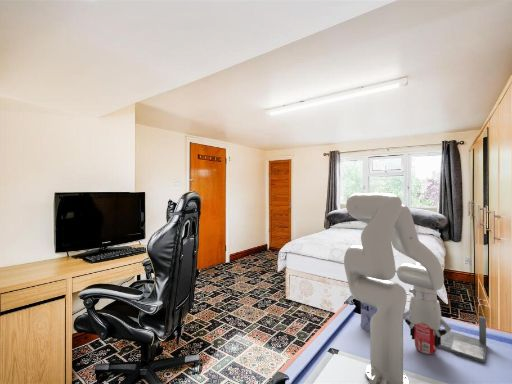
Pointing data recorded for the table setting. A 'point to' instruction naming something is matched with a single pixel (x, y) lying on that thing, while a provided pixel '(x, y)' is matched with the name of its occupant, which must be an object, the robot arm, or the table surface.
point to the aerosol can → (367, 315)
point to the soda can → (424, 338)
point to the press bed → (466, 343)
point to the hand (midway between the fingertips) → (425, 341)
